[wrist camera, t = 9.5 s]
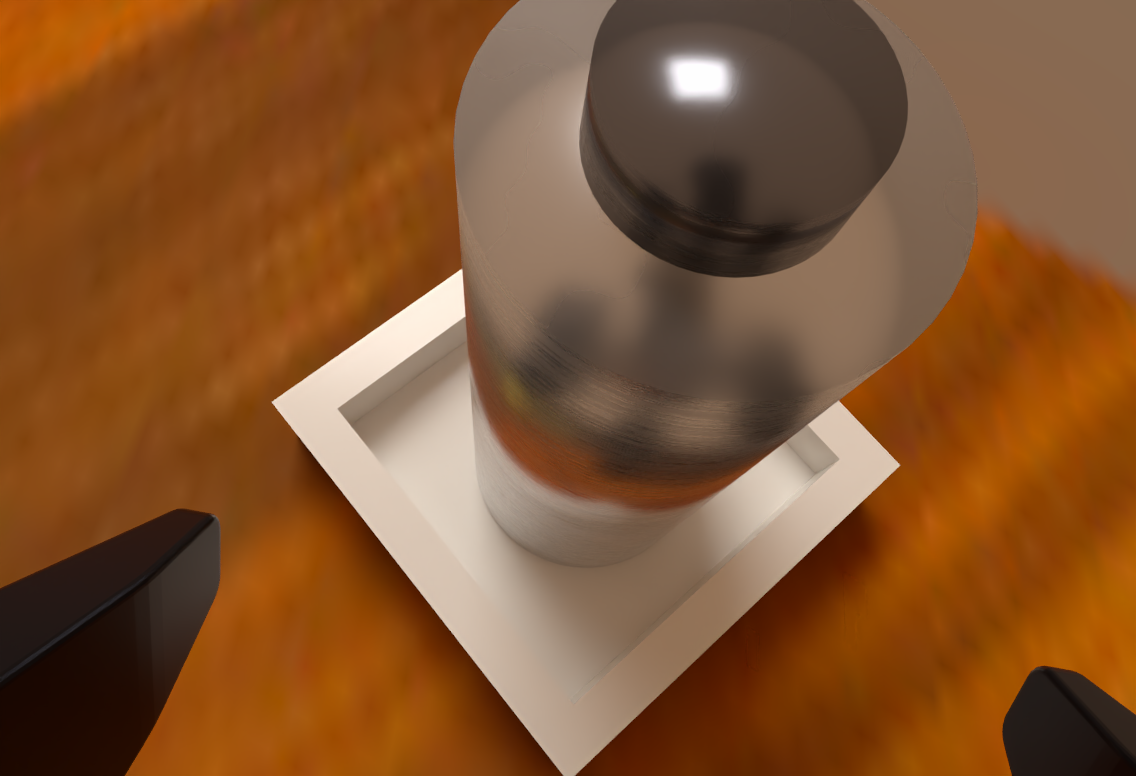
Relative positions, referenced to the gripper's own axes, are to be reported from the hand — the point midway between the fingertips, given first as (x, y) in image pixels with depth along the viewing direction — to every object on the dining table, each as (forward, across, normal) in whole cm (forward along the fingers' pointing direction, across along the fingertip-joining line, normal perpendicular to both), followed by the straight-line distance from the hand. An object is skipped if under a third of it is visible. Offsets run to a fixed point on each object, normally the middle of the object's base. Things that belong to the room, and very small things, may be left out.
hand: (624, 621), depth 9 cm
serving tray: (+11, 0, +4) cm, 12 cm away
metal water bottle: (+10, 0, +4) cm, 11 cm away
